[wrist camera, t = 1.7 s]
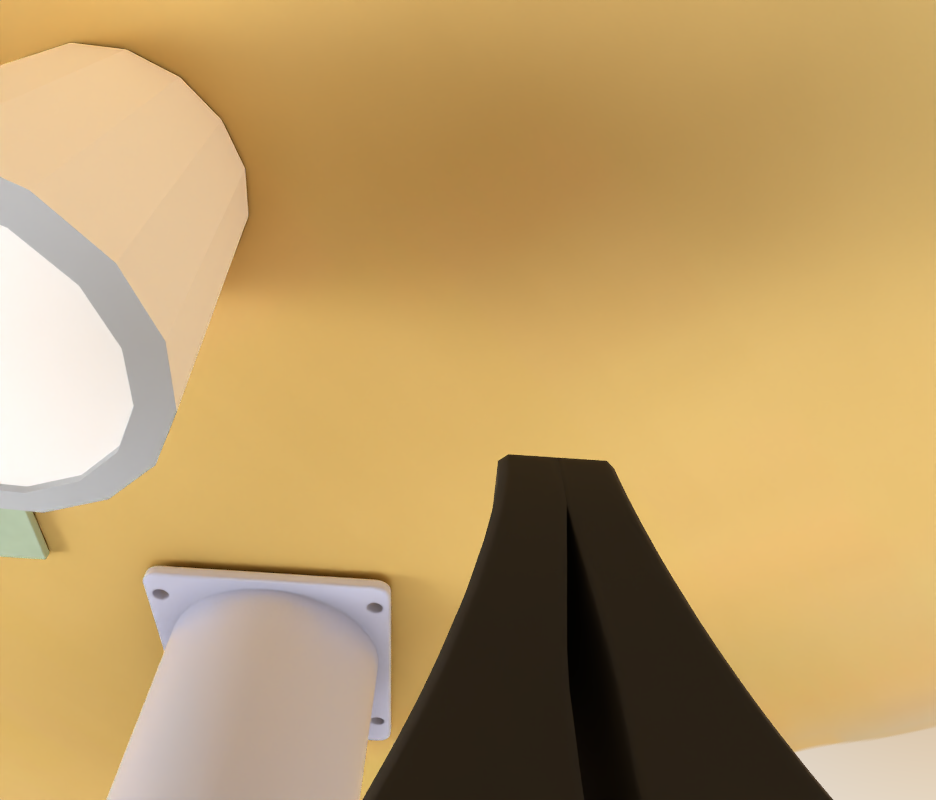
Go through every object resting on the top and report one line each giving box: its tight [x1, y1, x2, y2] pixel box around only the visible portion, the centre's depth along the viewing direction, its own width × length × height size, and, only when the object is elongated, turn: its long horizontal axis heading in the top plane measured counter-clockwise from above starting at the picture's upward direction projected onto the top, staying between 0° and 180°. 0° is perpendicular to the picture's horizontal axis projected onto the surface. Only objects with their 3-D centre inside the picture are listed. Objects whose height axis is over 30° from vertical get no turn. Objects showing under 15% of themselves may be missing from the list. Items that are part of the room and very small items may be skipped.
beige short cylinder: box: [0, 43, 249, 513], centre depth 14 cm, size 7×7×7 cm
